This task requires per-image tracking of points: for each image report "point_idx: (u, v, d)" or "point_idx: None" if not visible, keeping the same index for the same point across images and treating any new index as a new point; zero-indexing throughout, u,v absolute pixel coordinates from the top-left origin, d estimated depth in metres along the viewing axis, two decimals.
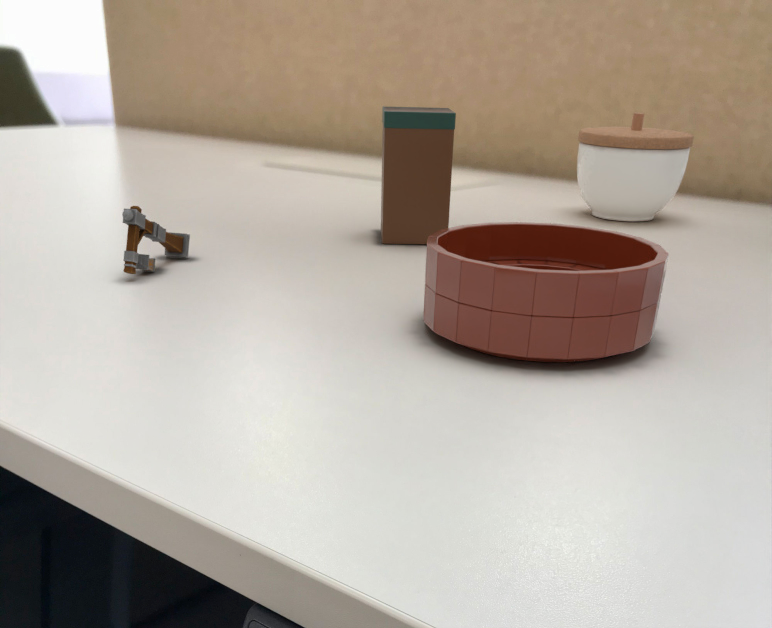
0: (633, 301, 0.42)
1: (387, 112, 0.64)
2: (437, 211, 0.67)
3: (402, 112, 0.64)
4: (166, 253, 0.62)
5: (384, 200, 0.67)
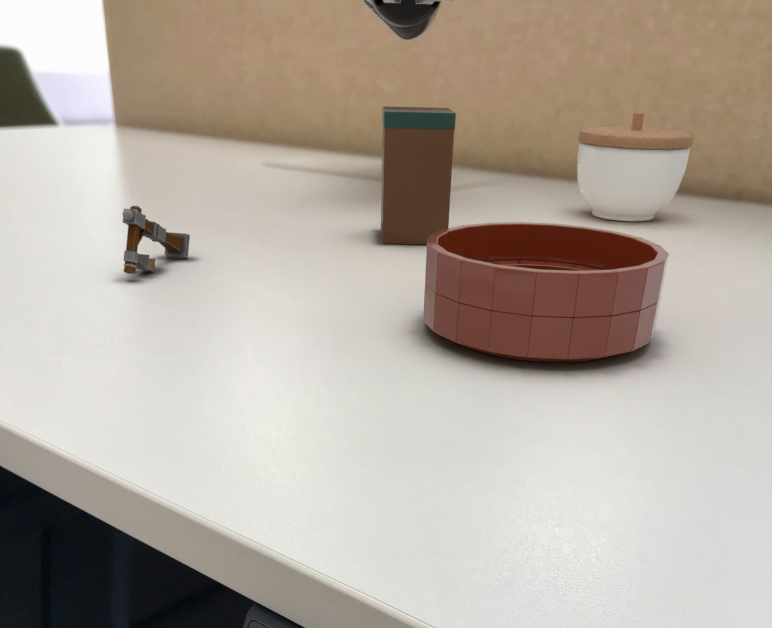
0: (633, 301, 0.42)
1: (387, 112, 0.64)
2: (437, 211, 0.67)
3: (402, 112, 0.64)
4: (166, 253, 0.62)
5: (384, 200, 0.67)
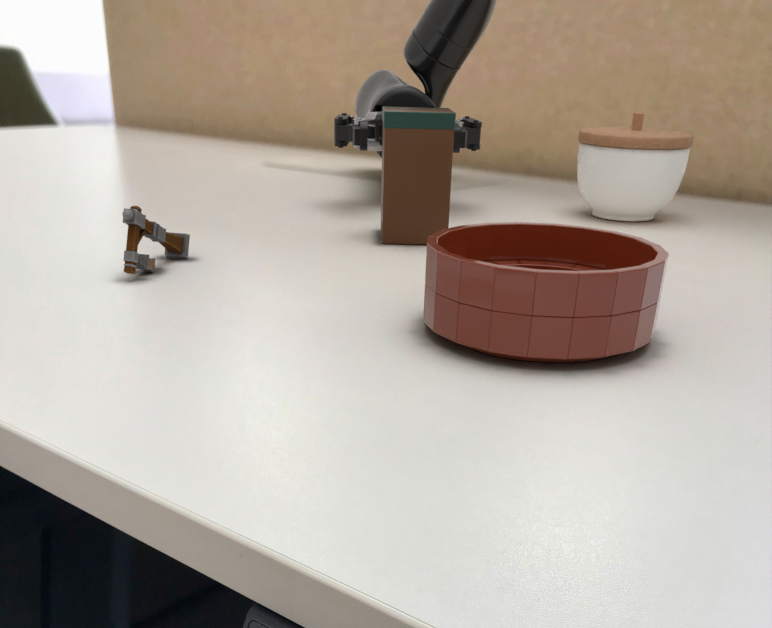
0: (633, 301, 0.42)
1: (387, 112, 0.64)
2: (437, 211, 0.67)
3: (402, 112, 0.64)
4: (166, 253, 0.62)
5: (384, 200, 0.67)
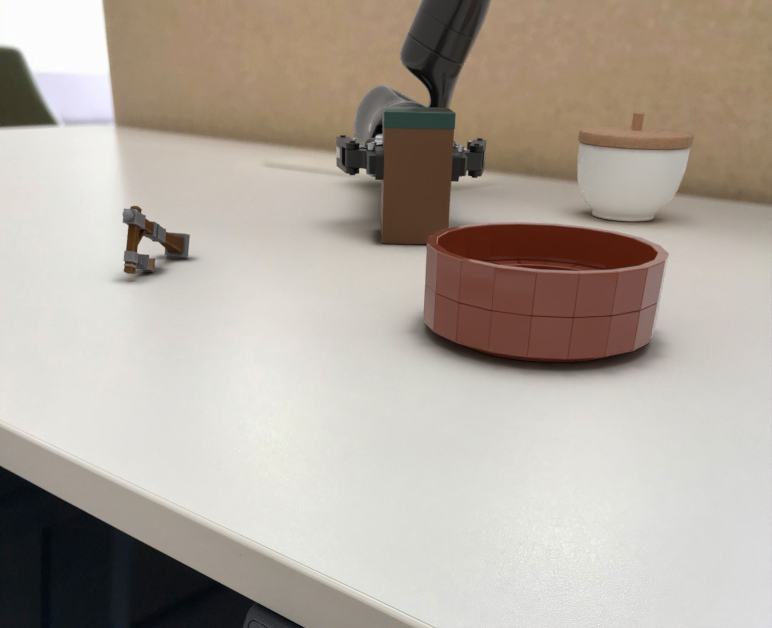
0: (633, 301, 0.42)
1: (387, 112, 0.64)
2: (437, 211, 0.67)
3: (402, 112, 0.64)
4: (166, 253, 0.62)
5: (384, 200, 0.67)
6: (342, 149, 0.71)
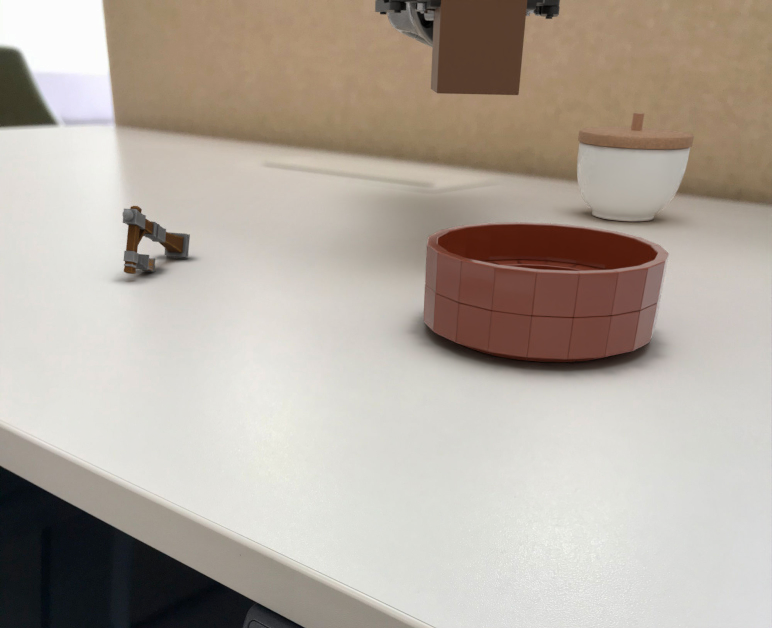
0: (633, 301, 0.42)
1: None
2: (507, 48, 0.53)
3: None
4: (166, 253, 0.62)
5: (441, 33, 0.53)
6: None
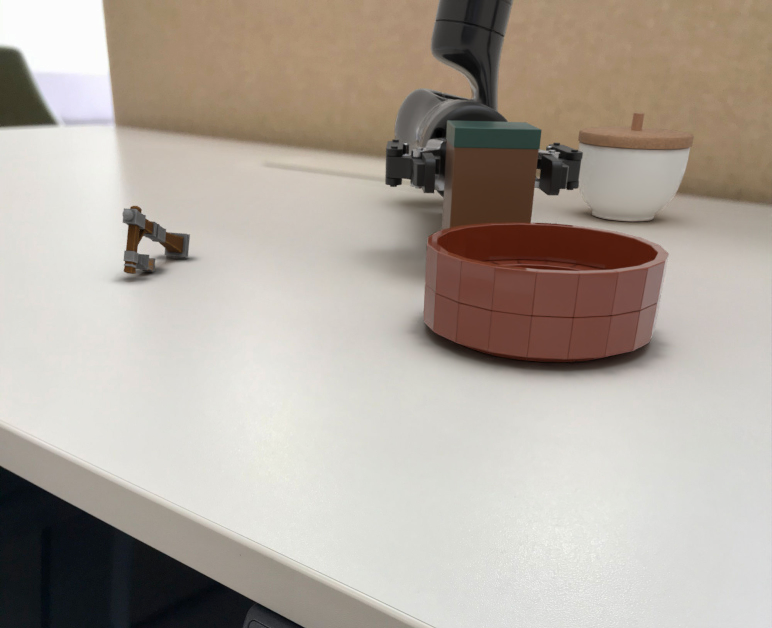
0: (633, 301, 0.42)
1: (458, 128, 0.52)
2: None
3: (476, 128, 0.52)
4: (166, 253, 0.62)
5: None
6: None
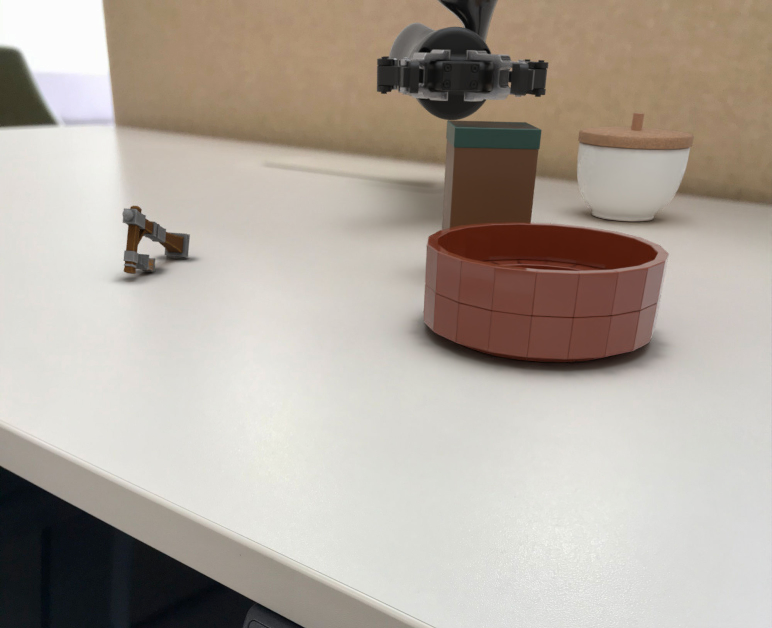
0: (633, 301, 0.42)
1: (458, 128, 0.52)
2: None
3: (476, 128, 0.52)
4: (166, 253, 0.62)
5: None
6: None
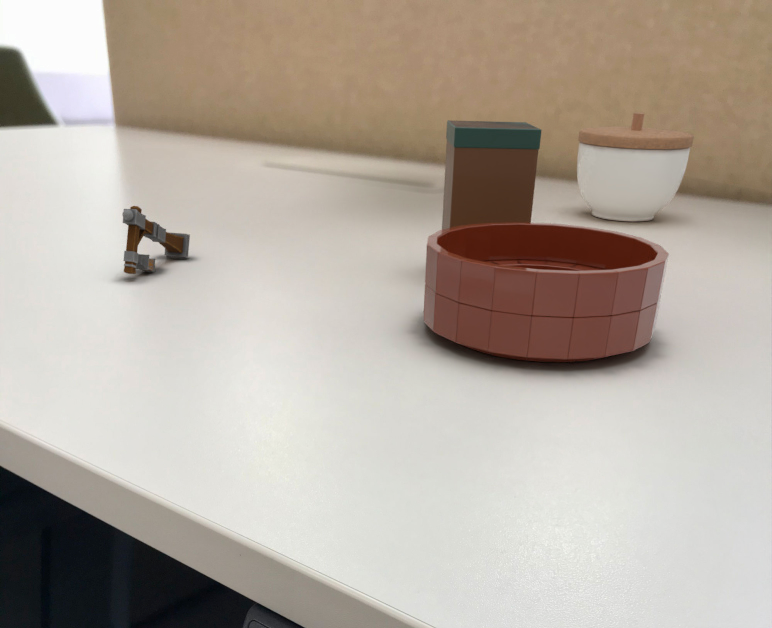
0: (633, 301, 0.42)
1: (458, 128, 0.52)
2: None
3: (476, 128, 0.52)
4: (166, 253, 0.62)
5: None
6: None
